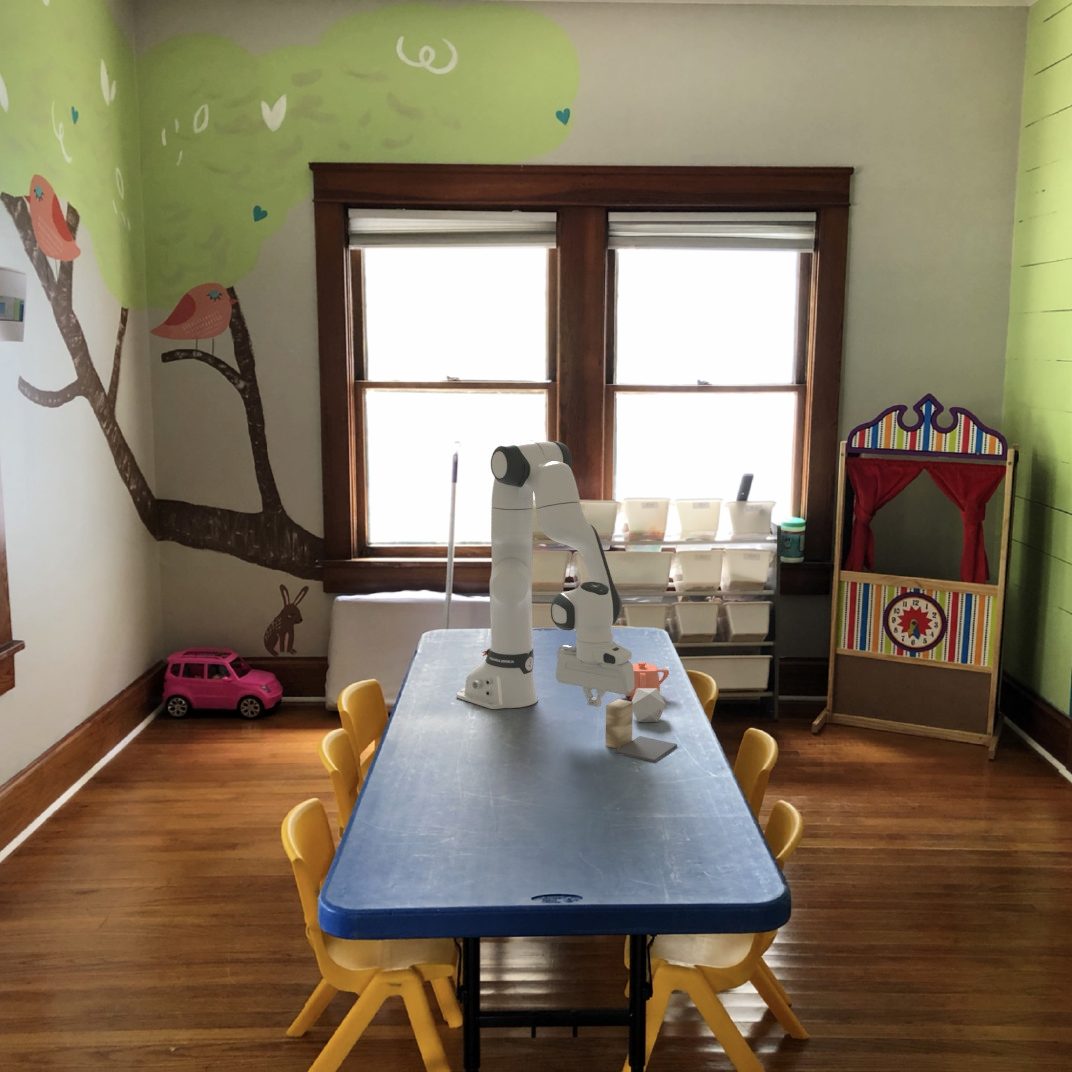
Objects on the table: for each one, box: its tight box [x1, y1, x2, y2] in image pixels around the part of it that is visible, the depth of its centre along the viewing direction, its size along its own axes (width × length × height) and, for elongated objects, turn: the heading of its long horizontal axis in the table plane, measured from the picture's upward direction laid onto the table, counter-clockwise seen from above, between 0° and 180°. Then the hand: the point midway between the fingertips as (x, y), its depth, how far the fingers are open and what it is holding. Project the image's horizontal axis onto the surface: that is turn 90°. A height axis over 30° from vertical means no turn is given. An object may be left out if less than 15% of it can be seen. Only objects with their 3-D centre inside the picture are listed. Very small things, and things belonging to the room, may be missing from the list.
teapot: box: [625, 661, 670, 701], centre depth 287 cm, size 12×12×10 cm
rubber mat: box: [615, 735, 678, 763], centre depth 248 cm, size 10×12×1 cm
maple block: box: [604, 698, 634, 750], centre depth 251 cm, size 4×6×10 cm, turn 147°
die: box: [631, 688, 667, 723], centre depth 268 cm, size 8×9×10 cm
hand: (594, 705), depth 254 cm, fingers closed
